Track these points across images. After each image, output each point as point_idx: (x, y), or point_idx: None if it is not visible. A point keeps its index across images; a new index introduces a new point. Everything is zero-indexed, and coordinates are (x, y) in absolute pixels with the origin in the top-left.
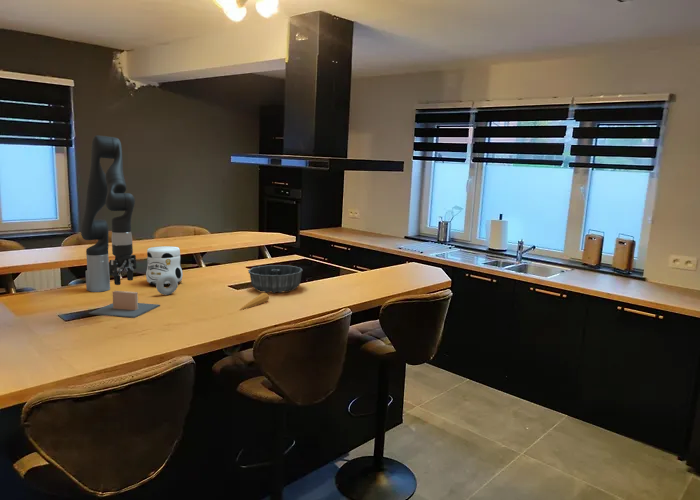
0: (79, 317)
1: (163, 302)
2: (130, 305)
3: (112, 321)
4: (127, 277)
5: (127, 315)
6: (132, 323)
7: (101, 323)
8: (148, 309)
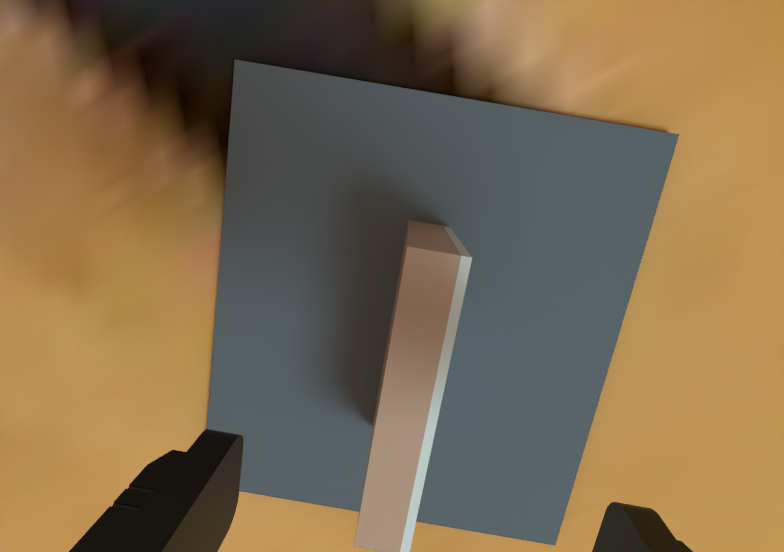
0: (132, 29)
1: (668, 526)
2: (376, 405)
3: (95, 361)
4: (637, 545)
5: (216, 427)
6: (88, 507)
7: (30, 306)
8: None
